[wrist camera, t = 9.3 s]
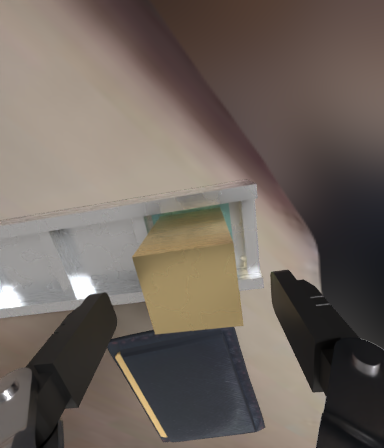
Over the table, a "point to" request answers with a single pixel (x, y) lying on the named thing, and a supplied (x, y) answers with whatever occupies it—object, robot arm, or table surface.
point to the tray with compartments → (110, 247)
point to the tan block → (189, 273)
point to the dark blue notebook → (190, 382)
